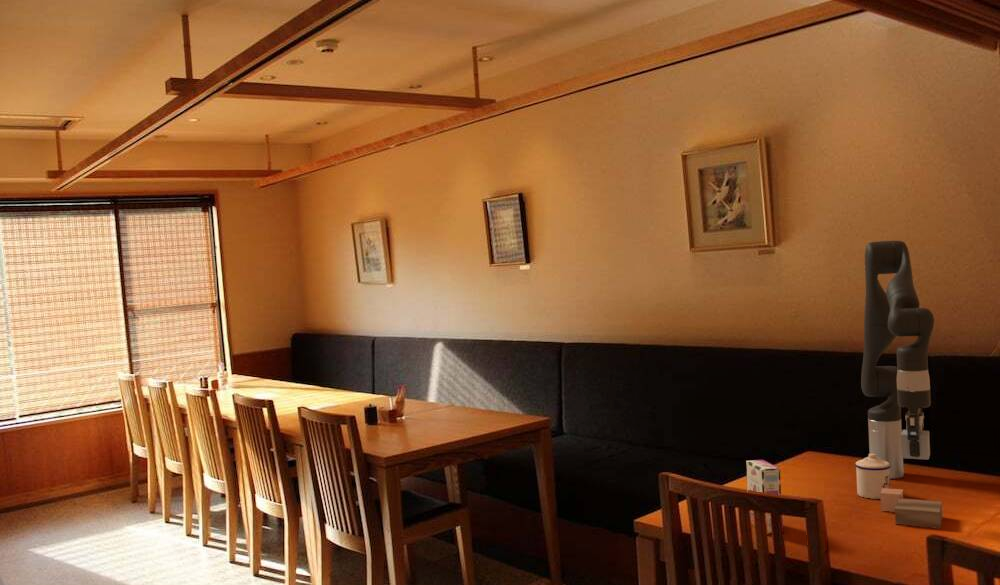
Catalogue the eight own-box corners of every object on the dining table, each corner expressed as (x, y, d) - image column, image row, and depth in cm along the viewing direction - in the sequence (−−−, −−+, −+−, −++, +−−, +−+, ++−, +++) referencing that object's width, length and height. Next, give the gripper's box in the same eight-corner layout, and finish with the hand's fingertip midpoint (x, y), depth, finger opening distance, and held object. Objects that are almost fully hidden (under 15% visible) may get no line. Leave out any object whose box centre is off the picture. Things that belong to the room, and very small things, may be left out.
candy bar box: (784, 533, 215) (781, 468, 214) (764, 535, 215) (761, 469, 214) (766, 520, 226) (763, 458, 226) (747, 522, 226) (744, 459, 225)
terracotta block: (883, 506, 233) (882, 488, 233) (903, 508, 230) (902, 489, 230) (881, 511, 228) (880, 492, 228) (901, 513, 226) (901, 494, 226)
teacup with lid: (890, 500, 237) (888, 458, 237) (855, 498, 241) (853, 457, 241) (893, 489, 248) (891, 449, 247) (858, 487, 252) (857, 447, 252)
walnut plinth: (899, 513, 226) (898, 498, 226) (942, 517, 221) (941, 501, 221) (895, 524, 217) (894, 508, 217) (940, 528, 212) (939, 512, 212)
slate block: (904, 452, 223) (903, 429, 222) (930, 454, 220) (929, 430, 219) (901, 458, 217) (900, 434, 217) (928, 459, 214) (927, 435, 214)
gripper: (899, 382, 226) (902, 446, 227) (894, 391, 214) (896, 459, 214) (931, 383, 222) (934, 448, 223) (927, 392, 210) (930, 461, 210)
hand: (916, 453), depth 218 cm, fingers closed on slate block, 6 cm apart
